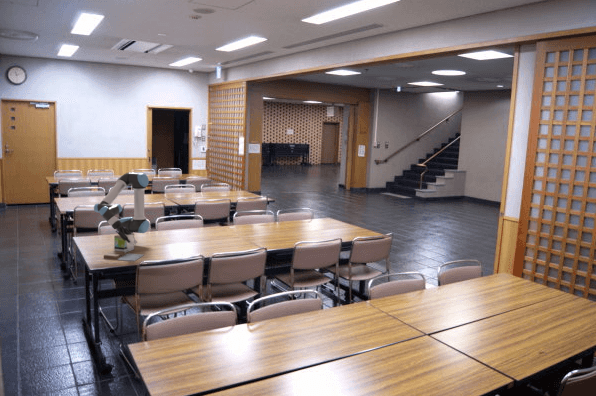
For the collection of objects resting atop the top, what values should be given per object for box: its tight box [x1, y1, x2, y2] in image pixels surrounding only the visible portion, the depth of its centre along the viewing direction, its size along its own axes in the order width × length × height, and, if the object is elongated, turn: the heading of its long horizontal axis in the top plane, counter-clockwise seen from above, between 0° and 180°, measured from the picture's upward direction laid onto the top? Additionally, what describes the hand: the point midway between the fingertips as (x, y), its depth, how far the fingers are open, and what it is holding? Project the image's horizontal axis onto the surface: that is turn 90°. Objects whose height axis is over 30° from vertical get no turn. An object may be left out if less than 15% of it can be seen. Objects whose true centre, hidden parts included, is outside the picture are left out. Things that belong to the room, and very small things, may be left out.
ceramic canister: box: [127, 234, 135, 249], centre depth 373 cm, size 6×6×10 cm
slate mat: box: [116, 252, 145, 262], centre depth 375 cm, size 18×14×1 cm
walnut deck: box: [103, 250, 126, 260], centre depth 377 cm, size 14×11×2 cm
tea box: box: [113, 232, 135, 254], centre depth 393 cm, size 15×10×15 cm, turn 168°
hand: (134, 244), depth 373 cm, fingers closed on ceramic canister, 5 cm apart
